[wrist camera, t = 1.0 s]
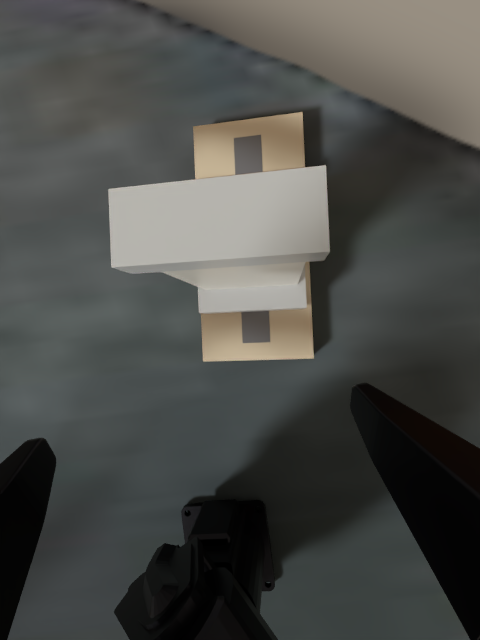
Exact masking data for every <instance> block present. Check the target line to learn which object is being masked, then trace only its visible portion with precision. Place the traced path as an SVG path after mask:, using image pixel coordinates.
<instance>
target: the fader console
mask: <svg viewBox="0 0 480 640" xmlns="http://www.w3.org/2000/svg"><path fill="white" fill-rule="evenodd" d="M193 131H194V155H195V179H204V178H214V177H223V176H232V175H241V174H250V173H259V172H268V171H277V170H287V169H296V168H305V156H304V135H303V113H302V112H299V113H291V114H284V115H276V116H269V117H261V118H254V119H246V120H239V121H231V122H224V123H216V124H209V125H201V126H194V127H193ZM195 179H193V180H195ZM305 281H306V303H307V308H305V309H293V310H273V311H252V312H231V313H211V314H204V313H201V322H202V346H203V361H240V360H277V359H314V351H313V330H312V308H311V286H310V265H309V262H305Z"/></svg>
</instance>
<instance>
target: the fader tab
mask: <svg viewBox="0 0 480 640" xmlns="http://www.w3.org/2000/svg"><path fill="white" fill-rule="evenodd" d="M108 191H109V217H110V243H111V267H112V268H115V269H118V270H121V271H124V272H128V273H131V274H137V273H151V272H163V273H165V274H168V275H170V276H173V277H175V278H177V279H180V280H182V281H185V282H187V283H190V284H192V285H195V286H197V287H198V300H199V313H204V314H211V313H231V312H252V311H273V310H293V309H305V308H307V303H306V281H305V262H311V261H324V260H325V258H326V257H327V255H328V254H329V252H330V242H329V221H328V199H327V178H326V165H323V166H314V167H305V168H296V169H287V170H277V171H268V172H259V173H250V174H241V175H232V176H223V177H214V178H204V179H195V180H186V181H177V182H168V183H159V184H150V185H141V186H132V187H122V188H113V189H108Z"/></svg>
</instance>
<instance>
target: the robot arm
mask: <svg viewBox="0 0 480 640" xmlns="http://www.w3.org/2000/svg"><path fill="white" fill-rule="evenodd" d="M350 408H351V412H352V414H353V417H354V419H355V422H356V424H357V426H358V429H359V431H360V434H361V436H362V438H363V441H364V443H365V445H366V448H367V450H368V453H369V455H370V457H371V459H372V461H373V463H374V465H375V467H376V469H377V471H378V472H379V474H380V476H381V478H382V480H383V481H384V483H385V485H386V487H387V489H388V491H389V492H390V494H391V496H392V498H393V500H394V501H395V503H396V505H397V507H398V509H399V511H400V512H401V514H402V516H403V518H404V520H405V521H406V523H407V525H408V527H409V529H410V531H411V532H412V534H413V536H414V538H415V540H416V541H417V543H418V545H419V547H420V549H421V551H422V552H423V554H424V556H425V558H426V560H427V561H428V563H429V565H430V567H431V569H432V571H433V572H434V574H435V576H436V578H437V580H438V581H439V583H440V585H441V587H442V589H443V591H444V592H445V594H446V596H447V598H448V600H449V601H450V603H451V605H452V607H453V609H454V611H455V612H456V614H457V616H458V618H459V620H460V621H461V623H462V625H463V627H464V629H465V631H466V632H467V634H468V636H469V638H470V640H480V448H478V447H476V446H475V445H473V444H471V443H469V442H468V441H466V440H464V439H463V438H461V437H459V436H457V435H456V434H454V433H452V432H451V431H449V430H447V429H445V428H444V427H442V426H440V425H439V424H437V423H435V422H433V421H432V420H430V419H428V418H427V417H425V416H423V415H421V414H420V413H418V412H416V411H415V410H413V409H411V408H409V407H408V406H406V405H404V404H402V403H401V402H399V401H397V400H396V399H394V398H392V397H390V396H389V395H387V394H385V393H384V392H382V391H380V390H378V389H377V388H375V387H373V386H372V385H370V384H368V383H361V384H355V385H354V386H353V387H352V393H351V402H350ZM55 468H56V457H55V455H54V453H53V451H52V449H51V448H50V446H49V444H48V442H47V441H46V439H44V438H36V439H31V440H27V441H26V442H24V443H23V444H22V445H21V446H20V447H19V448H18V449H16V450H15V451H14V452H13V453H12V454H11V455H10V456H9V457H7V458H6V459H5V460H4V461H3V462H2V463H1V464H0V640H7V638H8V635H9V632H10V629H11V625H12V622H13V619H14V616H15V613H16V610H17V606H18V603H19V600H20V597H21V594H22V590H23V587H24V584H25V581H26V578H27V575H28V571H29V568H30V565H31V562H32V559H33V556H34V552H35V549H36V546H37V543H38V540H39V536H40V533H41V530H42V527H43V523H44V520H45V515H46V511H47V506H48V501H49V497H50V492H51V487H52V482H53V477H54V472H55ZM257 506H259V507H261V510H257V509H256V507H257ZM186 510H189V511H190V512H191V513H190V514H189V513H187V512H186ZM182 522H183V530H184V538H185V544H184V545H183V546H182V547H180V546H179V545H177V546H175V545H170V544H166V543H164V544H163V545H162V546H160V547H159V548H157V550H156V552H155V554H154V555H153V557H152V559H151V561H150V563H149V565H148V567H147V569H146V572H145V573H143V574H142V575H140V576H139V577H138V578H137V579H136V580H135V581H134V582H133V583H132V584H131V585H130V586H129V588H128V592H127V594H126V595H125V596H124V598H123V599H122V600H121V602H120V603H119V604H118V606H117V607H116V609H115V611H114V613H115V615H116V617H117V618H118V620H119V622H120V624H121V625H122V627H123V629H124V630H125V632H126V634H127V636H128V637H129V639H130V640H278V639H277V637H276V636H275V635H274V633H273V632H272V630H271V629H270V627H269V626H268V625H267V623H266V622H265V620H264V619H263V617H262V616H261V615H260V605H261V593H262V591H272V590H273V589H274V587H275V577H274V569H273V562H272V554H271V546H270V539H269V531H268V523H267V516H266V508H265V504H264V503H263V502H262V501H260V500H251V501H237V500H235V499H234V500H216V501H205V502H204V503H195V504H186V505H185V506H184V508H183V509H182ZM266 581H270V582H271V583H266Z"/></svg>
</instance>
